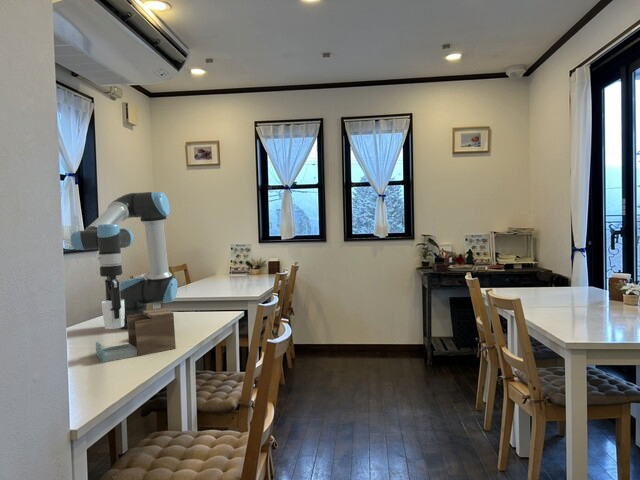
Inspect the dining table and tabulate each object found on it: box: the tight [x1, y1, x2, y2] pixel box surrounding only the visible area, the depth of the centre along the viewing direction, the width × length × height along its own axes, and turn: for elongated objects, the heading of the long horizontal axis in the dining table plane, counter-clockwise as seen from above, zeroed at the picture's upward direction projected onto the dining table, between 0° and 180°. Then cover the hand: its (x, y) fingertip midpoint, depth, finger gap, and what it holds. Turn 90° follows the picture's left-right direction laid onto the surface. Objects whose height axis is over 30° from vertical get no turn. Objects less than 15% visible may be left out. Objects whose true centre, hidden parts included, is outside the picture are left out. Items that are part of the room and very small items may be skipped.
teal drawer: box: [95, 341, 138, 364], centre depth 173 cm, size 14×13×5 cm
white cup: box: [100, 298, 125, 330], centre depth 171 cm, size 8×8×10 cm
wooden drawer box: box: [127, 307, 177, 357], centre depth 179 cm, size 15×14×14 cm
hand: (114, 325), depth 172 cm, fingers closed on white cup, 7 cm apart
